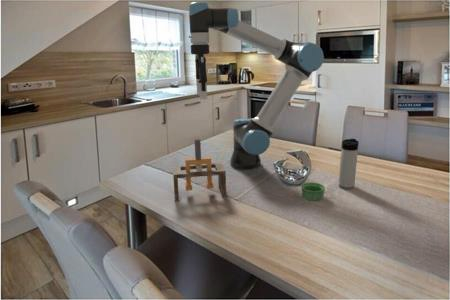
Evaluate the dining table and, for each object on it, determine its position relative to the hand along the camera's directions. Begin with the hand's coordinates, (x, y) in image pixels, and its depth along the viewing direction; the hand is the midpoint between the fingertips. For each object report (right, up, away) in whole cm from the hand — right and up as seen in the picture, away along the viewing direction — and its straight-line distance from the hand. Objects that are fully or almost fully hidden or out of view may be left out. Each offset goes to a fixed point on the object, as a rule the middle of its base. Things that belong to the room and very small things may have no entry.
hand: (201, 96), depth 148 cm
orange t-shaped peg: (-1, -37, -7) cm, 38 cm away
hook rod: (-1, -30, -9) cm, 31 cm away
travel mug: (+60, -38, -1) cm, 71 cm away
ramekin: (+44, -41, -10) cm, 61 cm away
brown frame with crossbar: (0, -40, -6) cm, 41 cm away
